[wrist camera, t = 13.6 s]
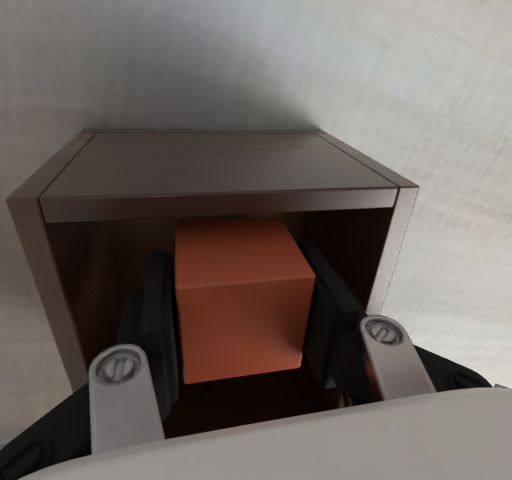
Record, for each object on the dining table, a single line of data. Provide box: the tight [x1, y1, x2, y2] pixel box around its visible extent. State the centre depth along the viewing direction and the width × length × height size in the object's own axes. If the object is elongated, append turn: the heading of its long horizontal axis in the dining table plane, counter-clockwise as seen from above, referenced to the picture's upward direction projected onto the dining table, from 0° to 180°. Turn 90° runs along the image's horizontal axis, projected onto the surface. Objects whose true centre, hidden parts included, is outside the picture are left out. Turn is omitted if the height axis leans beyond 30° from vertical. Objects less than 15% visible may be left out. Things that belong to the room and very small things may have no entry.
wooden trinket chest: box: [6, 129, 419, 439], centre depth 17 cm, size 15×13×9 cm
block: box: [175, 217, 315, 384], centre depth 12 cm, size 4×4×4 cm
